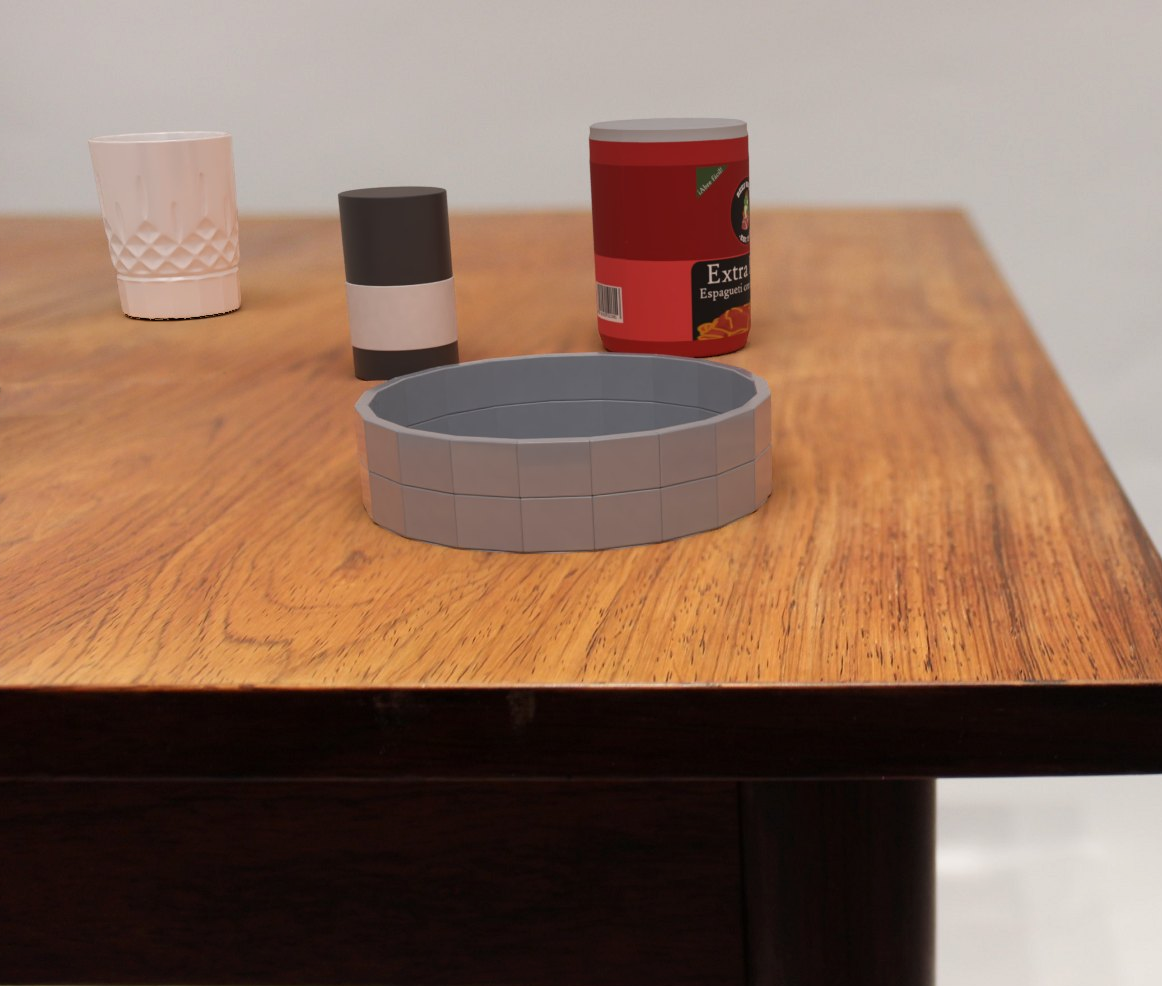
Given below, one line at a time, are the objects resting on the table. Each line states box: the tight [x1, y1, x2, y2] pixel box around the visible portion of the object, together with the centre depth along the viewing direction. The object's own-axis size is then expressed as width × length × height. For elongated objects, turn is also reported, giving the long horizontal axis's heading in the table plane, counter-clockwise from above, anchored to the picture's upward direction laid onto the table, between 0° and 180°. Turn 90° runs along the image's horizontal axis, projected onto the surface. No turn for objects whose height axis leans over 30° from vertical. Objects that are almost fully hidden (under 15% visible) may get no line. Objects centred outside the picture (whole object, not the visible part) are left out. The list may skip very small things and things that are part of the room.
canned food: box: [588, 117, 752, 358], centre depth 84 cm, size 8×8×11 cm
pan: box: [353, 351, 773, 555], centre depth 58 cm, size 14×14×4 cm
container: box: [337, 185, 460, 382], centre depth 80 cm, size 5×5×8 cm
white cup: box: [87, 130, 242, 318], centre depth 98 cm, size 8×8×10 cm
